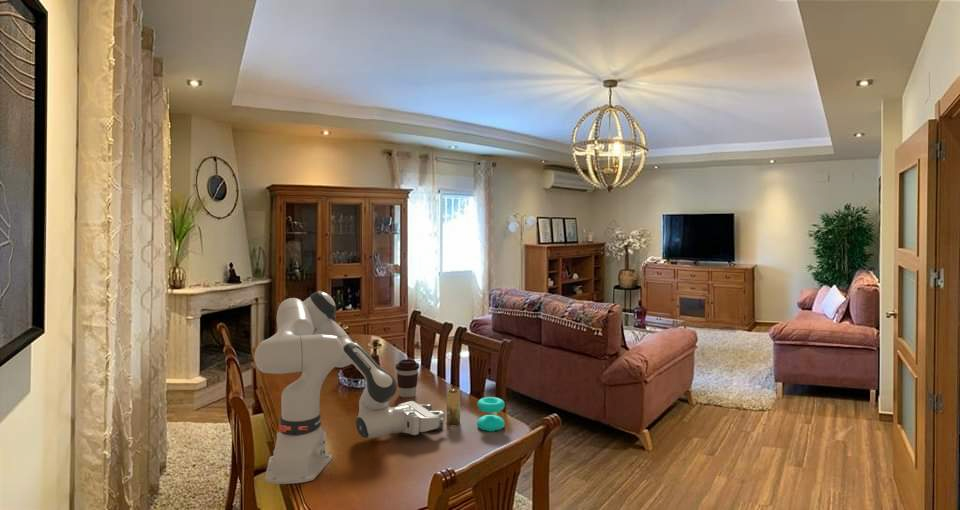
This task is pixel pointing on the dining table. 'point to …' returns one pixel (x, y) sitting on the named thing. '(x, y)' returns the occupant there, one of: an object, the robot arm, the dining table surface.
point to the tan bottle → (453, 407)
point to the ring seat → (437, 413)
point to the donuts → (491, 407)
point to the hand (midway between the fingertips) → (437, 410)
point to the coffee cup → (407, 377)
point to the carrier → (438, 427)
